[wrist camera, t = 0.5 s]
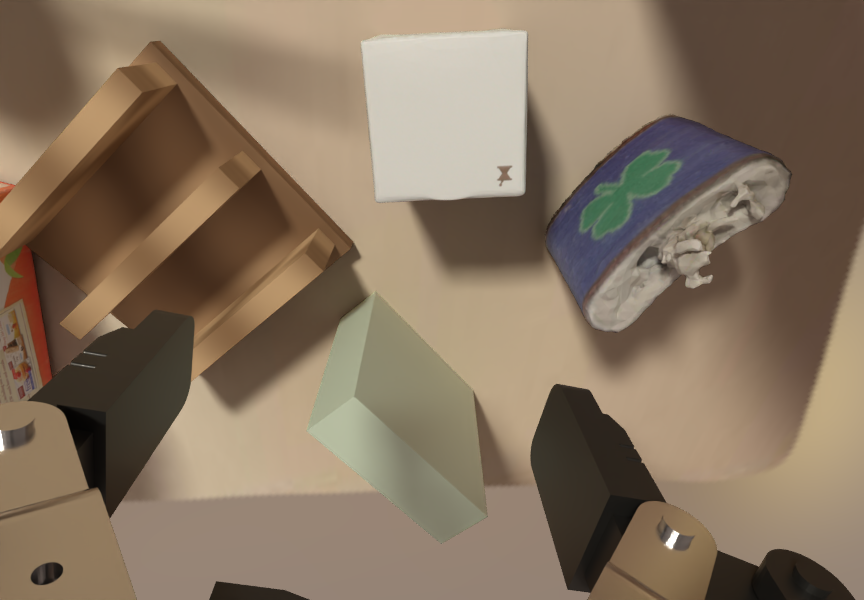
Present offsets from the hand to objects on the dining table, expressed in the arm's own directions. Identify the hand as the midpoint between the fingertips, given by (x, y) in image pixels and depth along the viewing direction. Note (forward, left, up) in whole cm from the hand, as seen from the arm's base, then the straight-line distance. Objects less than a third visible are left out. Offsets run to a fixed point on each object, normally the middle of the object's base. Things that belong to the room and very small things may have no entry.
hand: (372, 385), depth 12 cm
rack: (+11, -6, -18) cm, 22 cm away
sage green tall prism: (+7, +8, -19) cm, 21 cm away
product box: (-4, -2, -19) cm, 19 cm away
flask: (-8, +7, -19) cm, 22 cm away
